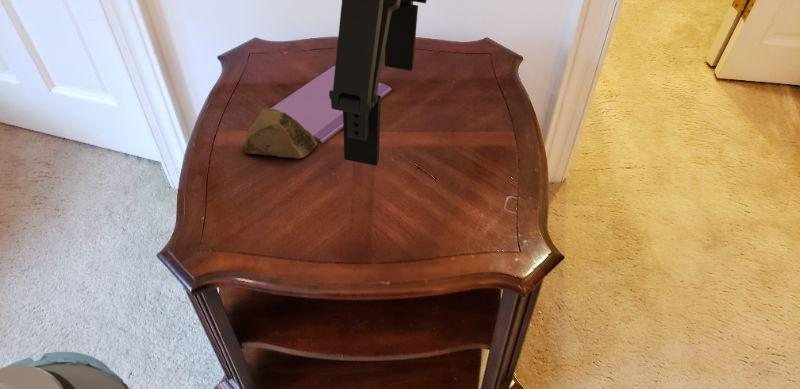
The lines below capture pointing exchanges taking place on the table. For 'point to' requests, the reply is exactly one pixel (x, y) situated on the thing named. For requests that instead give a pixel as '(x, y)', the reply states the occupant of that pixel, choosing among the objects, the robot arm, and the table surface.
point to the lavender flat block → (318, 106)
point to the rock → (278, 136)
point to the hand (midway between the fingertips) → (382, 109)
